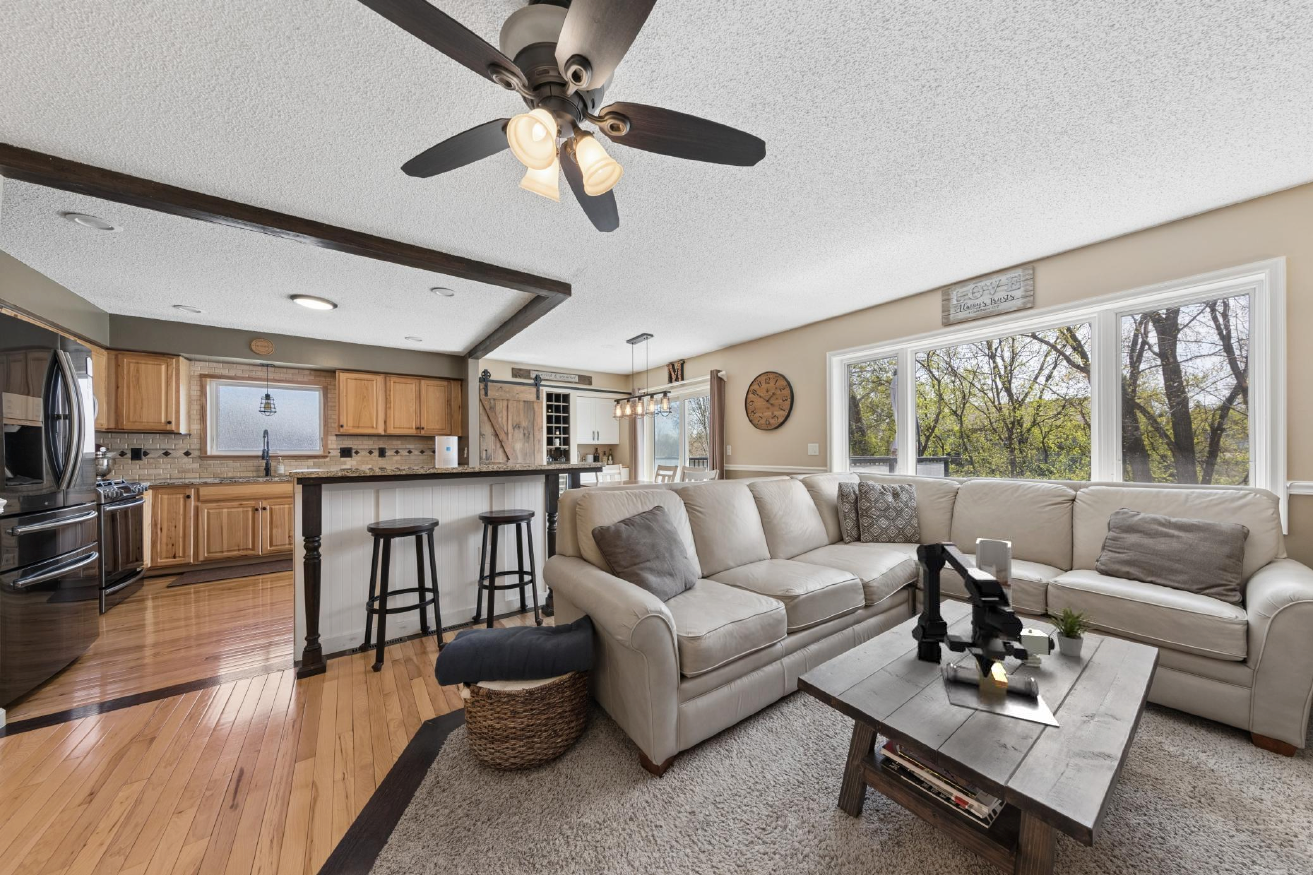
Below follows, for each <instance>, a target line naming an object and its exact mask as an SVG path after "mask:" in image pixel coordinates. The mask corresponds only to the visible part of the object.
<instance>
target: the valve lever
mask: <svg viewBox="0 0 1313 875" xmlns="http://www.w3.org/2000/svg"><path fill="white" fill-rule="evenodd" d="M996 663H997V661H996V662H995V664H994V665H993V667H992V669H991V672H992V679H993V681H994V683H995V685H996V686H998V687H1004V688H1007V680H1006V678H1005V676H1004V674H1003V673H1000V672H999V670H998V668H997V666H996Z"/></svg>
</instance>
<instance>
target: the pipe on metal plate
mask: <svg viewBox="0 0 1313 875" xmlns="http://www.w3.org/2000/svg"><path fill="white" fill-rule="evenodd" d="M974 661H975V662H974V663H975V664H974V666H975V668H973V667H969V666H962V665H958V664H954V663H953V662H947V663H946V667H942V666H941V667H940V670H941V673H942V677H943V682H944V685H945V687H946V692H947V695H948V700H949V703H950V705H954V706H958V707H963V708H967V709H973V710H976V711H981V712H986V713H990V714H995V715H1000V716H1005V717H1009V718H1014V719H1018V720H1023V721H1028V722H1032V723H1037V724H1042V725H1046V726H1050V727H1055V728H1060V725H1059V723H1058V721H1057V720H1056V718H1055V717H1054V715H1053V713H1052V712H1051V710H1050V709H1049V707H1048V705H1047V704H1046V702H1045V700H1044V699H1043V698H1042V696H1041V694H1040V689H1039V683H1038V681H1037V680H1036V679H1035V677H1031V676H1027V677H1024V676H1018V675H1017V676H1016V675H1013V674H1008V673H1006V670H1005V669H1004V667H1003V666H1002V665H1003V664H1002V663H1000V662H996V666H997V668H998V670H999V672H1000V673H1003V674H1004V676H1005V678H1006V680H1007V688H1004V687H998V686H996V685H995V683H994V681H993V679H992V672H991V671H990V673H989V675H988V677H987V678H986V677H983V675H982V673H981V671H980V668H979V666H978V663H977V661H976V658H975V660H974Z"/></svg>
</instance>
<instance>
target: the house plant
mask: <svg viewBox="0 0 1313 875" xmlns="http://www.w3.org/2000/svg"><path fill="white" fill-rule="evenodd" d="M1067 607H1068V608H1067ZM1067 607H1066V606H1062V617H1063V618H1062V619H1063V622H1062V620H1061V619H1060V617H1059V616H1058V615H1057V614H1056V613H1055V611H1053V610H1052V609H1050V608H1049V607H1046V606H1045V608H1046V609H1048V610H1049V611H1050V612H1051V613H1052V614H1053V615H1054V616H1055V617H1056V618H1057V620H1056V619H1055V618H1053V617H1051V619H1052V621H1053V622H1052V621H1048V622H1047V623H1049V624H1050V625H1052V626H1054V627H1055V628H1057V629H1058V631H1056V637H1057V641H1058V648H1059V652H1060V653H1062V654H1064V655H1067V656H1070V657H1075V658H1076V657H1078V658H1079V657H1080V656H1081V654H1082V648H1083V644H1084V639H1085V638H1084V637H1083V636H1082V635H1085V633H1086V631H1088V630H1091V631H1092V632H1093V631H1094V630H1093V627H1087V626H1084V625H1085V624H1087V623H1089V622H1094V620H1092V619H1091V620H1089V619H1088V618H1092V617H1095V615H1090V614H1089V615H1087V616H1084V617H1083V618H1081V617H1082V616H1083V615H1084V612H1085V609H1084V610H1081V611H1079V612H1078V613H1077V615H1076V614H1075V613H1073V610H1072V608H1071V607H1070V606H1069V605H1067ZM1099 617H1101V616H1099ZM1058 621H1059V622H1058ZM1083 621H1085V622H1083ZM1081 622H1083V623H1082V624H1081V625H1080V623H1081ZM1079 625H1080V626H1079ZM1078 626H1079V627H1078ZM1083 629H1084V630H1083ZM1094 629H1096V630H1097V629H1098V628H1096V627H1094Z"/></svg>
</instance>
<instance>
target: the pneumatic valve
mask: <svg viewBox="0 0 1313 875" xmlns="http://www.w3.org/2000/svg"><path fill="white" fill-rule="evenodd" d="M1006 641H1013V642H1018V643H1020V644H1021V645H1022V646H1023V647H1024V648H1025V649H1026V650H1027V651H1028V654H1029V660H1020V662H1021V663H1022V664H1025V666H1026V667H1029V668H1032V667H1033V668H1041V665H1042V663H1043V661H1042V658H1041V656H1039V655H1044V656H1051V653H1052V651H1054V650H1055V649H1056V643H1055V640H1054V638H1053V637H1052V636H1050V635H1049V634H1048V633H1047V632H1044V631H1042V630H1038V629H1032V628H1026V629H1024V628H1023V630H1022V632H1021V634H1020V635H1018V636H1017V637H1008V636H1007V640H1006Z"/></svg>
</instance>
